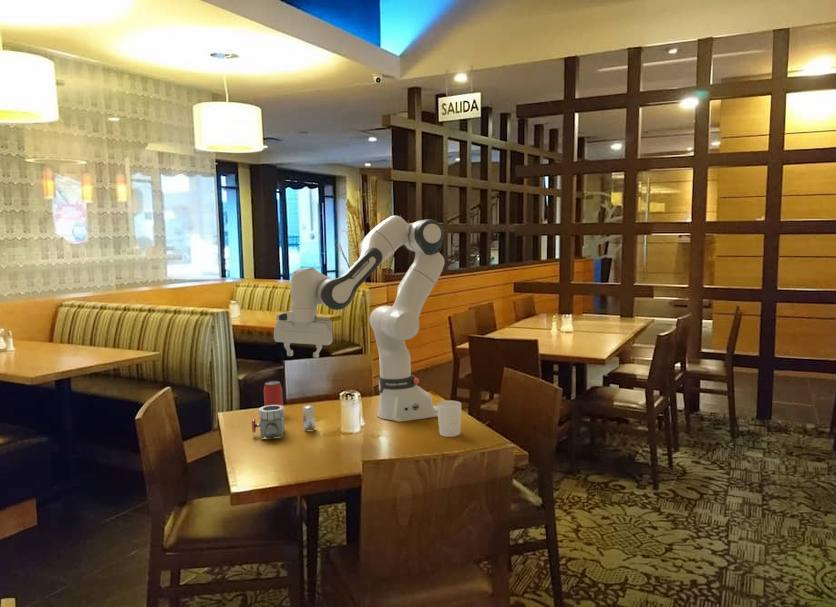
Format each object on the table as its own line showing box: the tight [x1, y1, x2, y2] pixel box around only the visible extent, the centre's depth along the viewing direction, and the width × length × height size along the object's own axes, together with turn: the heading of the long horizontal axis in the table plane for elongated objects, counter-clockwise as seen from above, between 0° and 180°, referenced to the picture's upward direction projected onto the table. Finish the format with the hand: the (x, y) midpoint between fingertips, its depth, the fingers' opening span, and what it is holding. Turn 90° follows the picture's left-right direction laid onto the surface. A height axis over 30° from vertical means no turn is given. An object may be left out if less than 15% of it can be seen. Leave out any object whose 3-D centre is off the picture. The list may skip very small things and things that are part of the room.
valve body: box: [251, 405, 285, 439], centre depth 210 cm, size 10×14×9 cm
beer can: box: [263, 380, 284, 407], centre depth 233 cm, size 7×7×12 cm
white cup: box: [436, 400, 462, 438], centre depth 205 cm, size 8×8×10 cm
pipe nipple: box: [301, 404, 316, 431], centre depth 214 cm, size 4×4×8 cm
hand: (302, 356), depth 215 cm, fingers open, 8 cm apart
